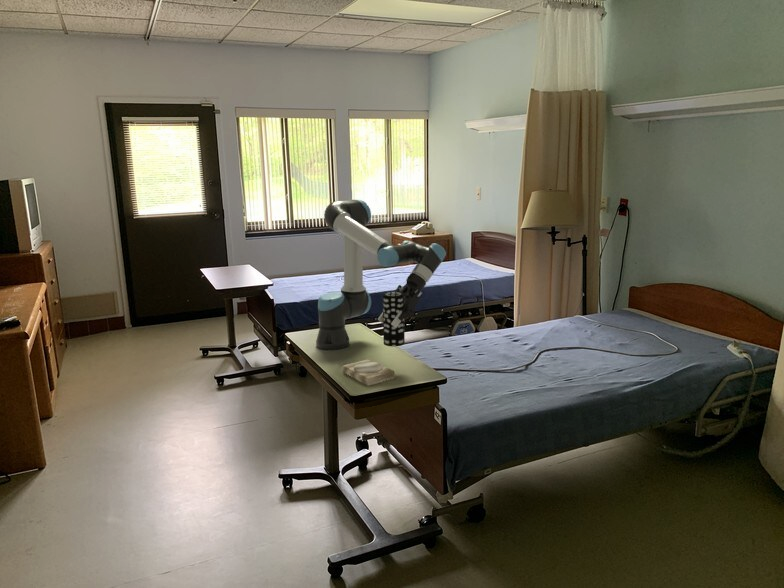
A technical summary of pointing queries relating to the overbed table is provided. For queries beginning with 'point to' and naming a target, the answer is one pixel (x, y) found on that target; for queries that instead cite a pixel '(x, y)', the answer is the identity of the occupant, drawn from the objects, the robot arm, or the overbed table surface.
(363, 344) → the overbed table surface
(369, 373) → the plinth
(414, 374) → the overbed table surface
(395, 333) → the spotted tube
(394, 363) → the overbed table surface
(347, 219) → the robot arm
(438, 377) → the overbed table surface
